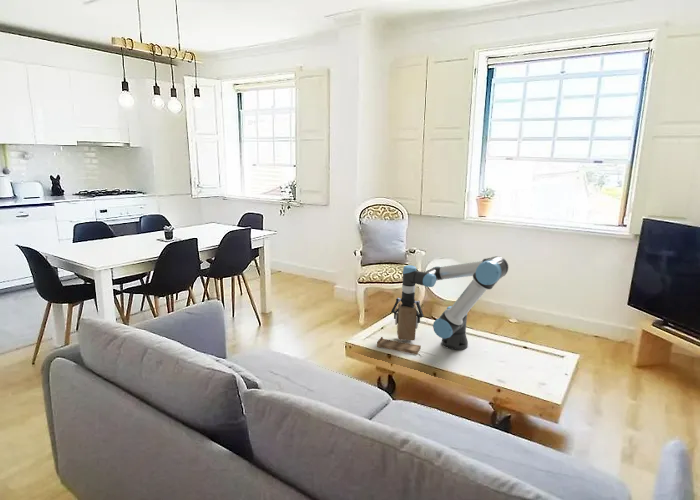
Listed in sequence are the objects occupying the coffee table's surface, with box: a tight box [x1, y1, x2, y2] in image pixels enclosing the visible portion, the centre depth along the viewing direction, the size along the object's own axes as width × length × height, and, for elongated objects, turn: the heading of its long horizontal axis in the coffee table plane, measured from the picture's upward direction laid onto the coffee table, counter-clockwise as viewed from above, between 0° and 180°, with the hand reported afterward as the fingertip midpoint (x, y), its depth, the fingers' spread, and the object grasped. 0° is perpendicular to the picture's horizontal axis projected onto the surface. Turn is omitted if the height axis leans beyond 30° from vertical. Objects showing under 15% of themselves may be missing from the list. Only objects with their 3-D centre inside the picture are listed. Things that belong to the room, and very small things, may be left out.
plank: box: [376, 336, 422, 355], centre depth 257 cm, size 24×8×3 cm, turn 67°
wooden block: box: [396, 302, 418, 341], centre depth 264 cm, size 10×10×20 cm
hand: (406, 325), depth 264 cm, fingers closed on wooden block, 12 cm apart
